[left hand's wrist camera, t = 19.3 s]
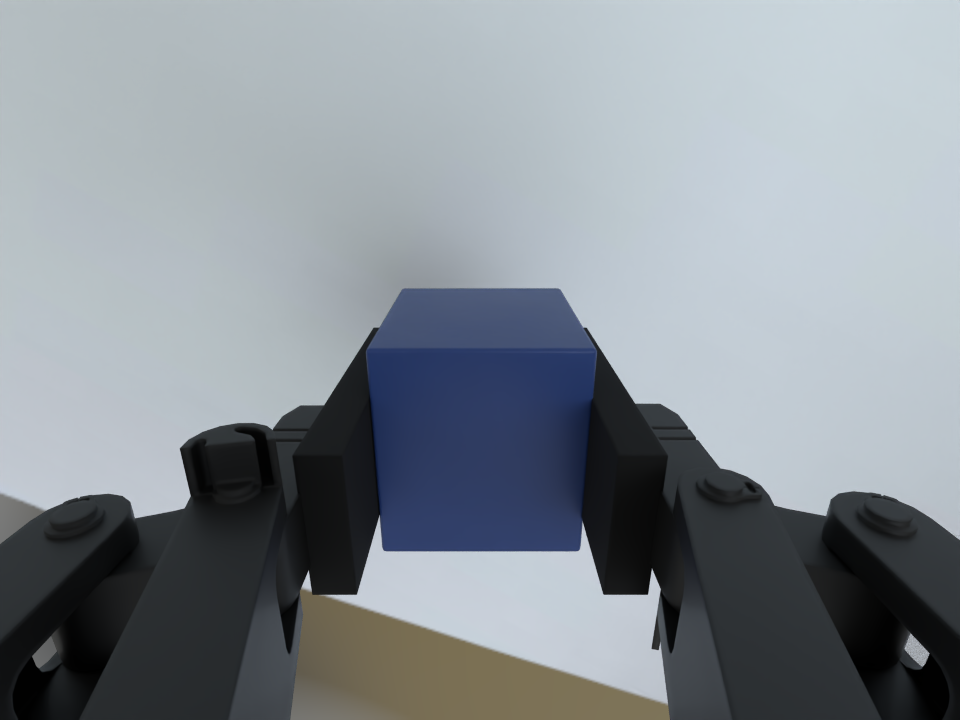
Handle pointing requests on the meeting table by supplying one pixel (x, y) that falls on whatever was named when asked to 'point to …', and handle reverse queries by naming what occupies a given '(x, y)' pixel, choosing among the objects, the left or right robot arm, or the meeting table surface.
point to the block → (481, 420)
